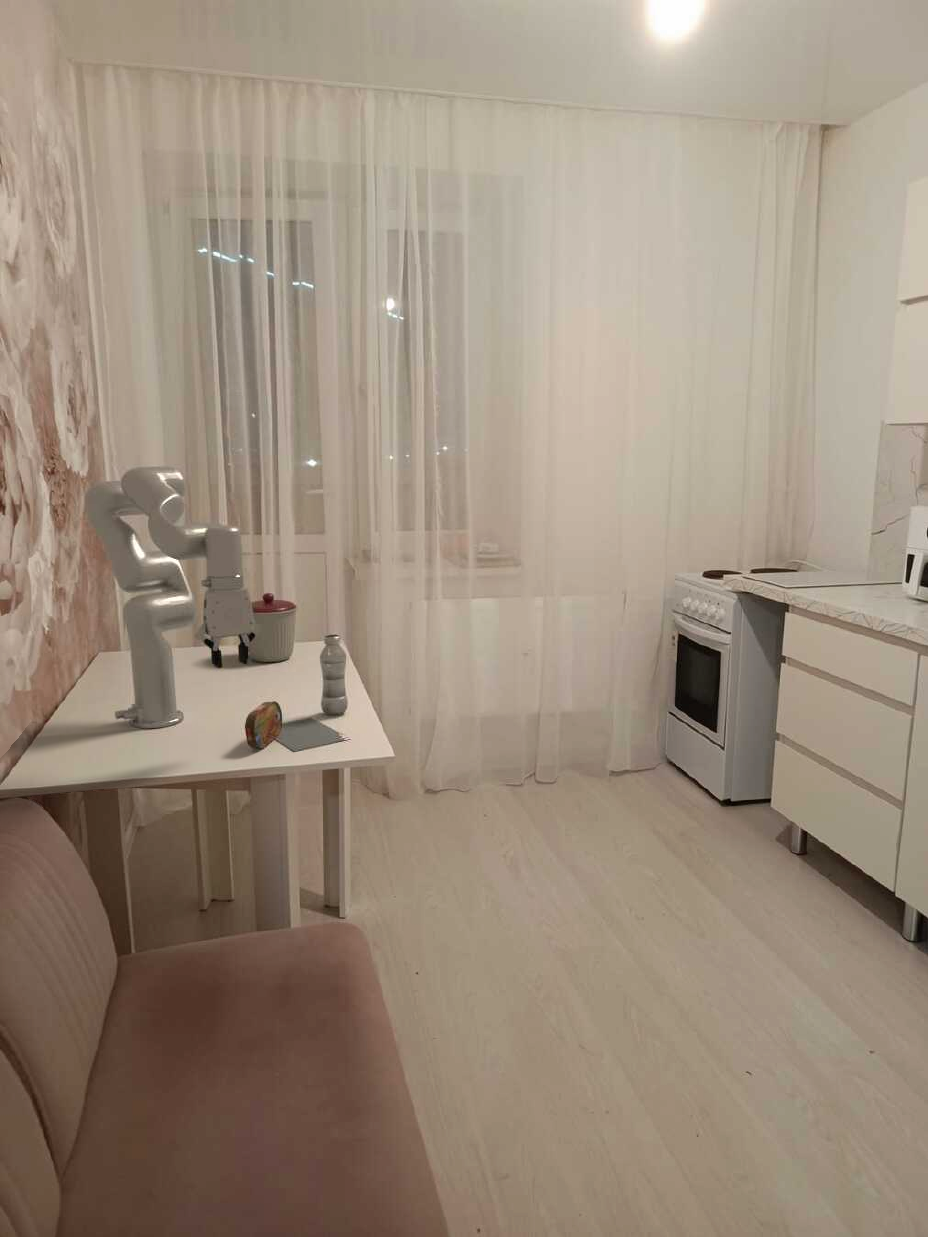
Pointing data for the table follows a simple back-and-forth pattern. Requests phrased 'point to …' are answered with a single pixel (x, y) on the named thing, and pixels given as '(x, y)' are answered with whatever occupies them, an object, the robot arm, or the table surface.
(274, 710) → the tin
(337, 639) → the plastic bottle
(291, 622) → the canister
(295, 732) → the mat
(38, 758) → the table surface
